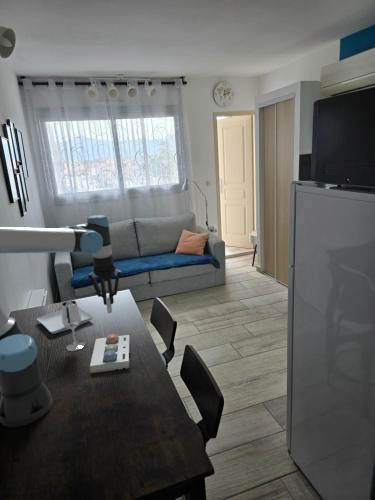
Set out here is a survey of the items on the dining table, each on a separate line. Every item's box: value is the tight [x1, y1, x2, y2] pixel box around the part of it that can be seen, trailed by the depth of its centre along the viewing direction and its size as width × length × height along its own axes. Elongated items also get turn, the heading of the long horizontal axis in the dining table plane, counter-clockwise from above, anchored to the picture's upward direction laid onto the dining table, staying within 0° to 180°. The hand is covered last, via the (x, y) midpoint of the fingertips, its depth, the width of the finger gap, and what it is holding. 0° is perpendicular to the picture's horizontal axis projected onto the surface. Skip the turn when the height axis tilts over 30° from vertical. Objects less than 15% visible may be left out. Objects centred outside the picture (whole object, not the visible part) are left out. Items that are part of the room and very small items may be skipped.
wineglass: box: [61, 300, 86, 352], centre depth 136 cm, size 8×8×20 cm
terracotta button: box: [105, 333, 118, 344], centre depth 136 cm, size 4×4×3 cm
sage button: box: [105, 344, 117, 352], centre depth 130 cm, size 4×4×3 cm
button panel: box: [89, 334, 131, 374], centre depth 130 cm, size 20×14×3 cm
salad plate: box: [36, 306, 94, 334], centre depth 161 cm, size 21×21×3 cm
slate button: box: [104, 350, 116, 363], centre depth 123 cm, size 4×4×3 cm
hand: (110, 311), depth 131 cm, fingers closed
